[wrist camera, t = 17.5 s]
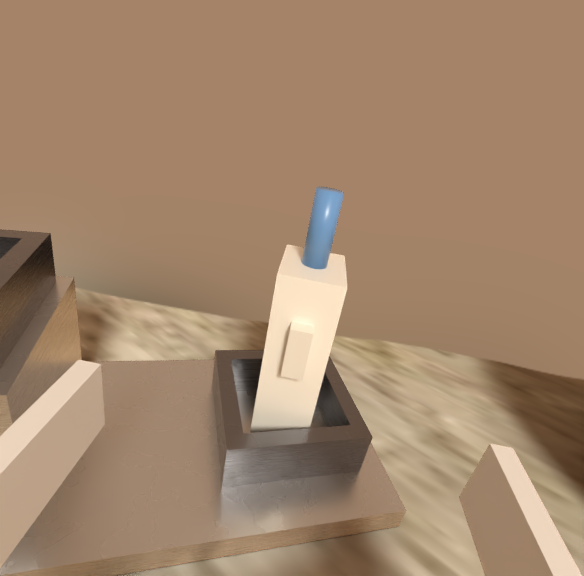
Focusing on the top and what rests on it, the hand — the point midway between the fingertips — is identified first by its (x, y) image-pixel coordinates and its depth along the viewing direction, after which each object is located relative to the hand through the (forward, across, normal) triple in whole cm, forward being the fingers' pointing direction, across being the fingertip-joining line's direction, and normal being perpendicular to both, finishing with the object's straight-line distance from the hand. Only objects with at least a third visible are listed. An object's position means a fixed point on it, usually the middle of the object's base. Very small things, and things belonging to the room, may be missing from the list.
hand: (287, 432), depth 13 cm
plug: (+10, 0, -10) cm, 14 cm away
